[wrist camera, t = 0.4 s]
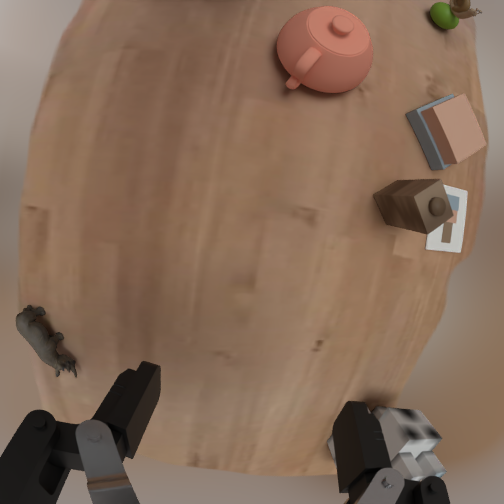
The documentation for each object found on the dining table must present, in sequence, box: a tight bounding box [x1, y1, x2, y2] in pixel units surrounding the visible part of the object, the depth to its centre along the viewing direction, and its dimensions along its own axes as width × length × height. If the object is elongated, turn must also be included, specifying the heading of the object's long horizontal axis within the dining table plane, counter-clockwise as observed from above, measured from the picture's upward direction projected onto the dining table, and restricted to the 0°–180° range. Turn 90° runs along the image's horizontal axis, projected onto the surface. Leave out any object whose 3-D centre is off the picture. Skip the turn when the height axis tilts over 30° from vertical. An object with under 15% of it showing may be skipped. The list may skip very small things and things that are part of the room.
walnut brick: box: [373, 179, 454, 234], centre depth 31 cm, size 4×4×11 cm
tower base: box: [406, 93, 487, 170], centre depth 32 cm, size 9×9×6 cm
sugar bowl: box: [277, 6, 373, 93], centre depth 27 cm, size 12×14×10 cm
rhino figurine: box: [16, 305, 77, 377], centre depth 35 cm, size 4×14×6 cm, turn 37°
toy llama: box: [327, 406, 446, 481], centre depth 34 cm, size 8×18×20 cm, turn 159°
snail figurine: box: [430, 0, 482, 29], centre depth 25 cm, size 5×6×12 cm
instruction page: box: [425, 185, 467, 253], centre depth 37 cm, size 10×8×1 cm
